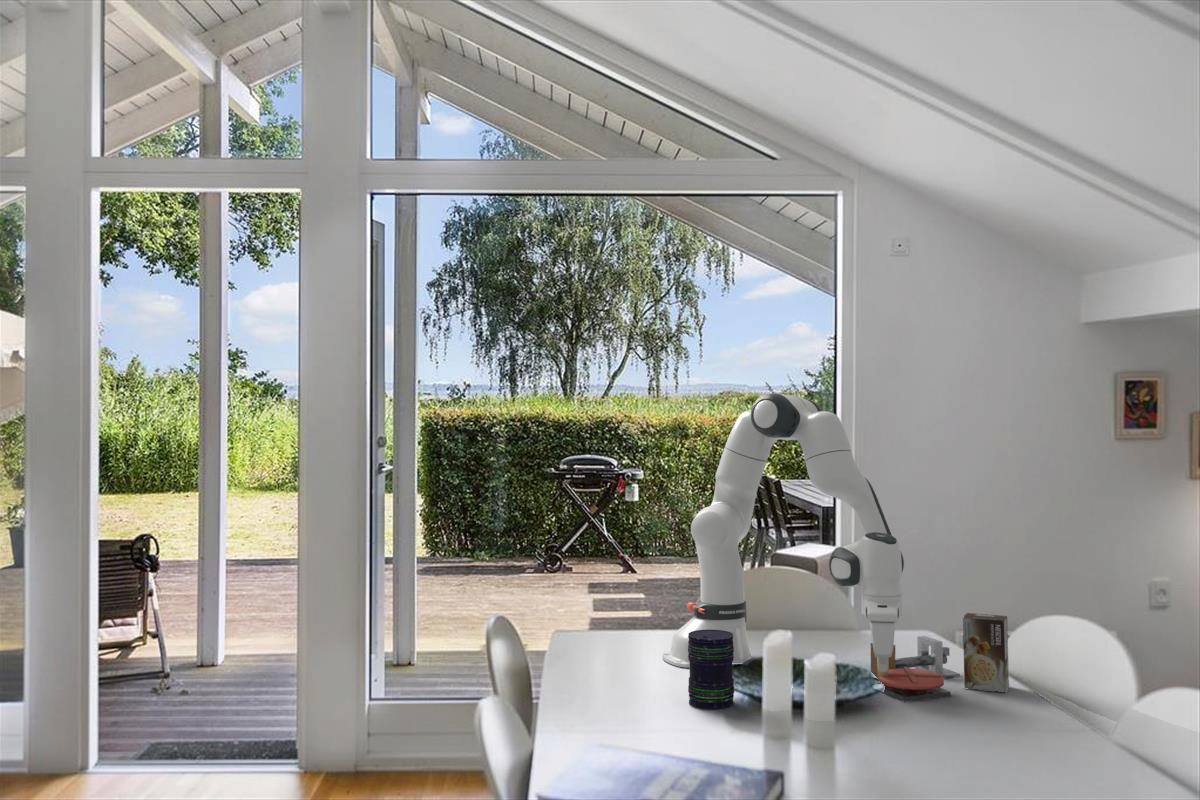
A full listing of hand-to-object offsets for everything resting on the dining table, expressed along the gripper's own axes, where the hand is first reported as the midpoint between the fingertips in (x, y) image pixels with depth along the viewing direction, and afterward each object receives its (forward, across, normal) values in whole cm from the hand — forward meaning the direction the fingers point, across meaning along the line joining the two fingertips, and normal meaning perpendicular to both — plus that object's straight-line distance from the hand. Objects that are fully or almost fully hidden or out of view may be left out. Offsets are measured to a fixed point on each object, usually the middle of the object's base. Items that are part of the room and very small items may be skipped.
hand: (882, 668), depth 243 cm
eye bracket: (+5, -19, +13) cm, 24 cm away
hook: (+5, -16, +7) cm, 18 cm away
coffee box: (+5, -8, +23) cm, 25 cm away
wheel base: (+5, 0, +6) cm, 8 cm away
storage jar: (+5, +18, -36) cm, 40 cm away
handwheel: (+4, 0, +6) cm, 7 cm away
